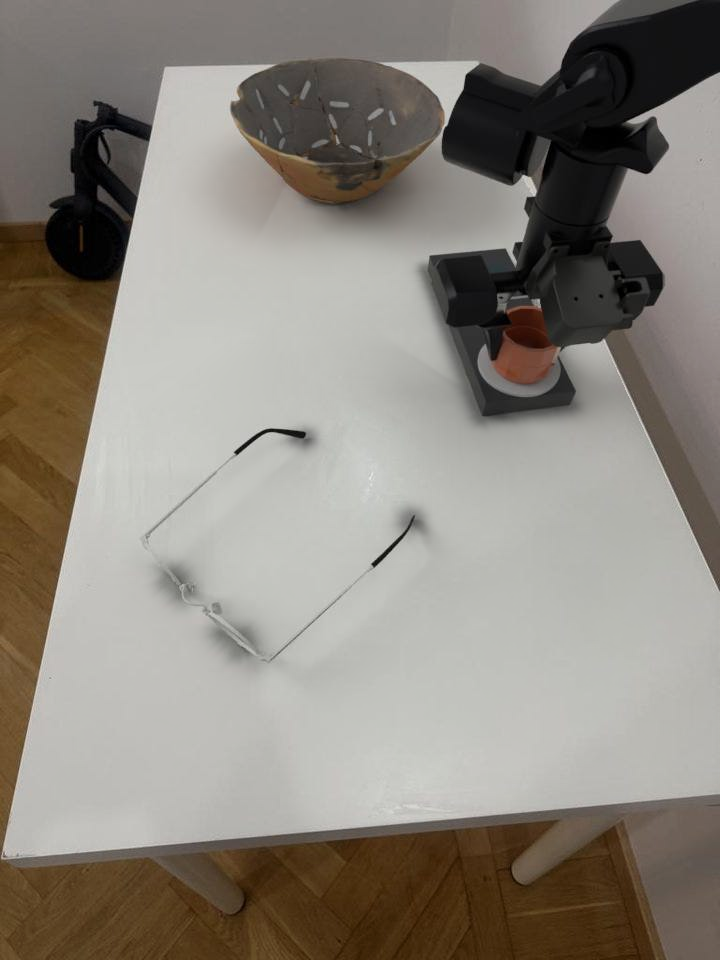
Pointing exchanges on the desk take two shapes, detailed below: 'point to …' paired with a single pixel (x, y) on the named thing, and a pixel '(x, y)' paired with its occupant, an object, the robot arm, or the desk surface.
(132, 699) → the desk surface
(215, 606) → the eyeglasses
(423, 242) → the desk surface
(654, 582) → the desk surface
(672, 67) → the robot arm
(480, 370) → the scale
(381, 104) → the bowl
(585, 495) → the desk surface
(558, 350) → the terracotta cup
